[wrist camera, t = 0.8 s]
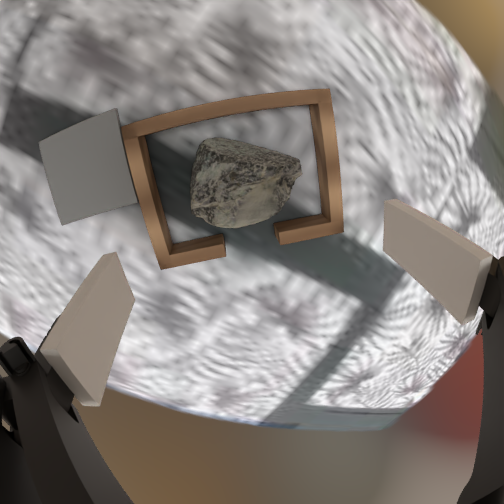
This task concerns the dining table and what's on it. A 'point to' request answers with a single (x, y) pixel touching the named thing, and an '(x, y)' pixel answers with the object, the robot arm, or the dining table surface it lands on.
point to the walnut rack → (315, 98)
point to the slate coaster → (88, 168)
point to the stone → (240, 182)
